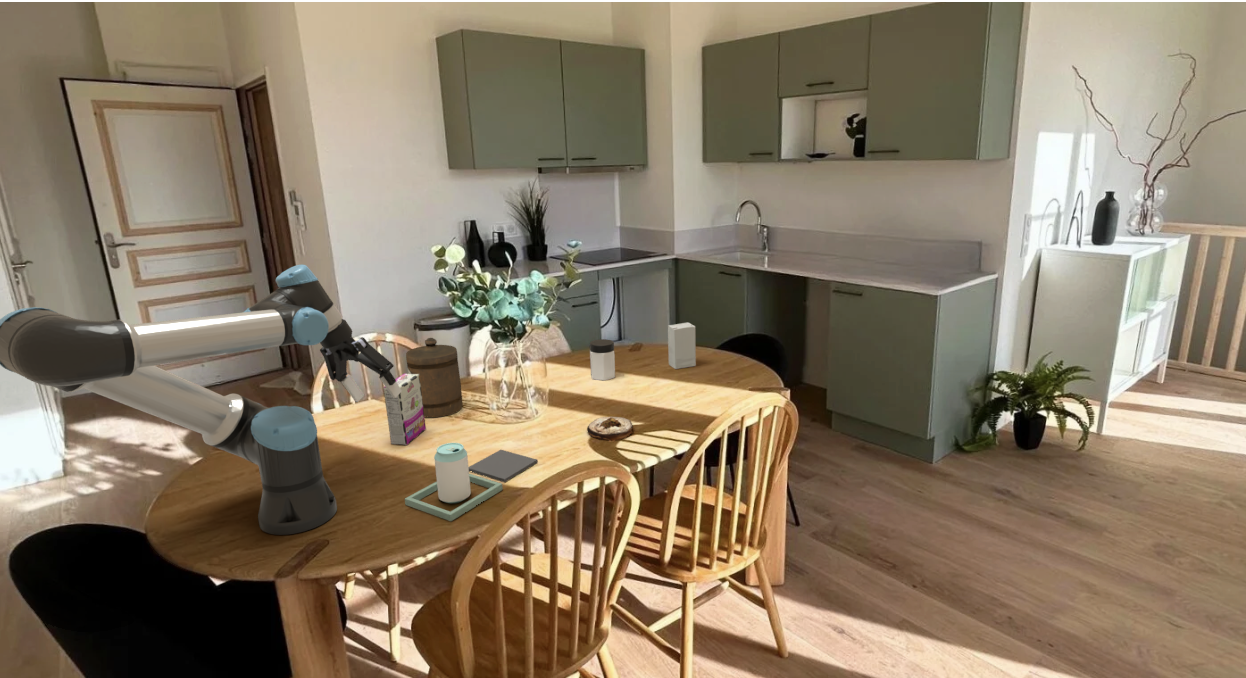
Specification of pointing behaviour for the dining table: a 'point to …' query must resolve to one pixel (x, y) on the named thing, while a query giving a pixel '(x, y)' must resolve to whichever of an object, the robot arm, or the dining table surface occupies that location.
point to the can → (452, 473)
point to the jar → (602, 359)
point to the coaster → (502, 465)
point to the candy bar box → (405, 410)
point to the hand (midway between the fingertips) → (378, 396)
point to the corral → (450, 516)
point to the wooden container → (437, 377)
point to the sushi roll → (610, 428)
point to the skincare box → (681, 345)
